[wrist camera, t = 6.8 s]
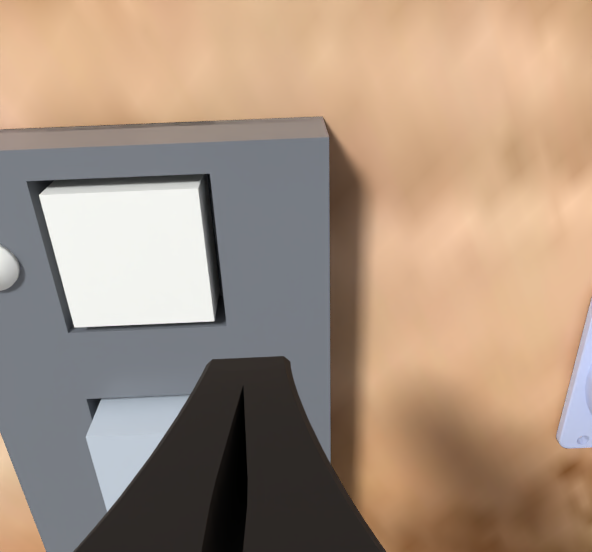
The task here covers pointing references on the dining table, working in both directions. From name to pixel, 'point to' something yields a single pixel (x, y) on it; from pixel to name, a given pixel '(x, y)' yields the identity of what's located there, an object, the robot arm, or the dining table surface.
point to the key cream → (134, 249)
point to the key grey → (128, 437)
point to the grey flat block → (156, 337)
